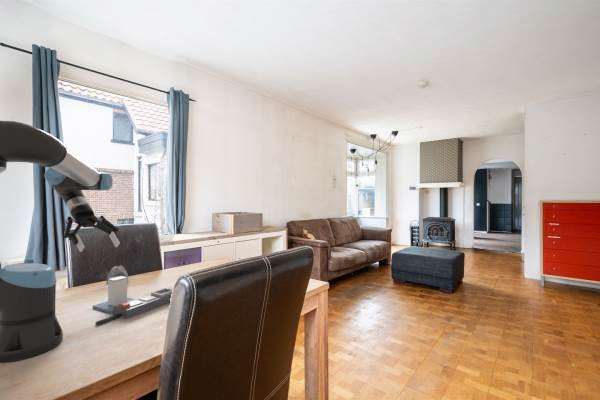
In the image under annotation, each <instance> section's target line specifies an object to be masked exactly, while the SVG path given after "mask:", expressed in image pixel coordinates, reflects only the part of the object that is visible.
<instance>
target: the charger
mask: <svg viewBox="0 0 600 400" xmlns="http://www.w3.org/2000/svg"><path fill="white" fill-rule="evenodd" d="M107 285H108V286H107V287H108V288H107V301H108V305H111V306H116V305H119V304H120V303H123V302H127V297H128V280H127V277H124V276H119V277H115V278H111V279H108V282H107Z"/></svg>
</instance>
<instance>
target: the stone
mask: <svg viewBox="0 0 600 400" xmlns="http://www.w3.org/2000/svg"><path fill="white" fill-rule="evenodd" d="M119 276H124V277H127V281H128V280H129V279H128V278H129V274H128V272H127V269H126V268H125V267H124V265H123V264H122V265H115V266H113V267H112V268H111V269H110V271H109V272H108V273H107V276H106V282H107V283H108V279H111V278H115V277H119Z"/></svg>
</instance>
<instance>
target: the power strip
mask: <svg viewBox="0 0 600 400" xmlns="http://www.w3.org/2000/svg"><path fill="white" fill-rule="evenodd" d="M172 290H173V288H170V287H164V288H161V289H157V290H155V291H152V292H151V291H150V294H147V295H144V296H141V297H137V298H134V299H135V300H132V301H128V302H123V303H120V304H119V305H116V306H113V314H112V316H109V317H106V318H103V319H100V320H98V321H97V320H96V321H95V325H96V326H99V325H103V324H105V323H107V322H111V321H113V320H115V319H116V320H117V319H118V318H123V319H130V318H132V317H136V316H139V315H140V314H141V315H142V314H144V313H147V312H149V311H151V310H153V309H154V310H155V309H156V308H159V307H162V306H164V305H167V304H170V303H171V302H170V298H171V294H172Z"/></svg>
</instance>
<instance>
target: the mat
mask: <svg viewBox="0 0 600 400" xmlns="http://www.w3.org/2000/svg"><path fill="white" fill-rule="evenodd" d="M135 299H136V298H133V297H129V296H127V302H128V301H132V300H135ZM92 309H94V310H97V311H100V312H103V313H106V314H111V315H113V306H111V305H108V300H107V301H105V302H101V303H97V304H93V305H92Z"/></svg>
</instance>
